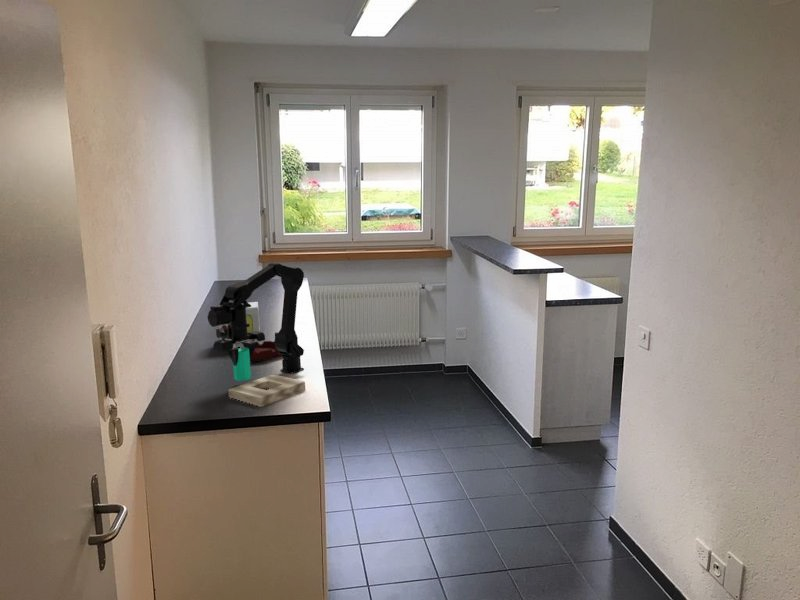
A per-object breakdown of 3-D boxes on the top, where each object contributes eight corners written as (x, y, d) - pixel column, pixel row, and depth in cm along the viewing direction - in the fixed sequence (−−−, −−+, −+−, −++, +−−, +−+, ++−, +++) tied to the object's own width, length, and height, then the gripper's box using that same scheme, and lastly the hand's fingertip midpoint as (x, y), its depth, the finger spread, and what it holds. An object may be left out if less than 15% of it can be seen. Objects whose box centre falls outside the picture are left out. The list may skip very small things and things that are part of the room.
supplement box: (220, 350, 281) (216, 309, 278) (221, 342, 294) (218, 303, 290) (260, 347, 284) (258, 306, 281) (260, 340, 297) (258, 301, 294)
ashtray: (284, 362, 260) (283, 350, 259) (243, 364, 259) (242, 352, 258) (288, 351, 277) (288, 339, 276) (250, 352, 276) (249, 341, 275)
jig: (273, 382, 234) (273, 374, 233) (305, 389, 224) (304, 381, 223) (228, 398, 218) (228, 389, 217) (260, 406, 208) (260, 397, 208)
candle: (252, 375, 234) (250, 342, 232) (249, 380, 228) (247, 347, 226) (236, 375, 234) (233, 343, 232) (232, 380, 228) (229, 347, 226)
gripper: (244, 314, 239) (247, 355, 242) (201, 324, 225) (205, 367, 227) (264, 317, 233) (267, 359, 235) (222, 327, 218) (226, 372, 221)
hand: (241, 364), depth 230 cm, fingers closed on candle, 5 cm apart
